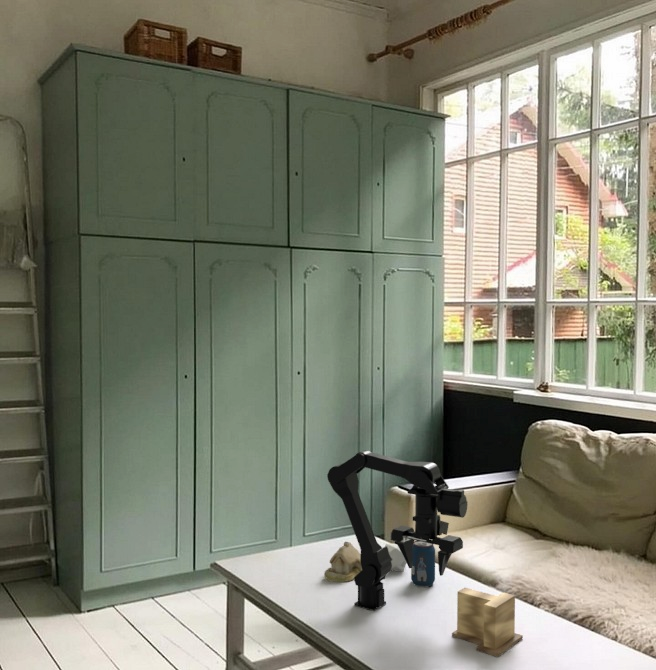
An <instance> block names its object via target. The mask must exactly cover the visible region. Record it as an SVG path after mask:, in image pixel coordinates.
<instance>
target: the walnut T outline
mask: <svg viewBox="0 0 656 670" xmlns="http://www.w3.org/2000/svg"><path fill="white" fill-rule="evenodd" d="M451 636H452V637H453V638H458V639H460V640H464V641H466V642H470V643H472V644H476V645H478V646H476V651H478V652H481V653H484V654H486V655H490V656H494V657H496V658H499V657H500V656H501V654H502V655H503V654H505V653H506V652H507V651H508V650H510V649H511V648H513V645H514V646H515V645H516V644H518V643H519V642H520V641H522V640H523V639H522V638H523V637H524V635H523V634H519V633H515V636H514V637H512V638H511V639H510V640H508V641H507V642H505V643H504V644H503V645H501V646H500V647H498V648H497V649H496V650H494V649H491V648H488V647H485V646H484V640H483V639H480V638H476V637H473V636H470V635H467V634H463V633H460V632H457V629H456V630H454V631H453V632H452V633H451ZM521 639H522V640H521ZM518 641H519V642H518ZM517 642H518V643H517ZM510 647H511V648H510ZM509 648H510V649H509ZM506 650H507V651H506ZM505 651H506V652H505Z"/></svg>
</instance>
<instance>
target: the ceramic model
mask: <svg viewBox="0 0 656 670" xmlns="http://www.w3.org/2000/svg"><path fill="white" fill-rule="evenodd" d="M360 555H361V552H360V551H359V550H358V549H357V548H356V547H355V546H354V545H353V544H352V543H351V542H350V541H344V542H343V545H342V546H340V547H339V549H338V550H337V551H336V552H335V553H334V554H333V555H332V556H331V558H330V559H329V563H330V566H331V567H328V568H327V569H326V570H325V571H324V577H325V580H328V581H330V582H343V583H344V582H350V581H354V577H355V576H356V575H357V574H358V573H360V572H361V571H362V567H361V563H360Z"/></svg>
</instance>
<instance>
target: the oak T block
mask: <svg viewBox="0 0 656 670" xmlns="http://www.w3.org/2000/svg"><path fill="white" fill-rule="evenodd" d="M456 595H457V598H456V599H457V600H456V601H457V603H456V604H457V609H456V610H457V612H456V614H457V615H456V616H457V617H456V620H457V621H456V622H457V623H456V625H457V627H456V630H457V632H460V633H463V634H467V635H470V636H473V637H476V638H480V639H483V640H484V646H485V647H488V648H491V649H494V650H496V649H497V648H498V647H500V646H501V645H503V644H504V643H505V642H507V641H508V640H510V639H511V638H512V637H514V636H515V632H516V631H515V629H516V627H515V626H516V625H515V624H516V623H515V622H516V621H515V619H516V595H515V594H511V593H507V592H502V593H500V594H499V595H495V594H490V593H488V592H487V593H486V592H483V591H479V590H476V589H472V588H468V587H463V588H461V589H459V590H457V594H456Z"/></svg>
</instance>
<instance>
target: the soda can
mask: <svg viewBox="0 0 656 670" xmlns="http://www.w3.org/2000/svg"><path fill="white" fill-rule="evenodd" d="M410 573H411V574H410V579H411V582H412V583H413V585H414V584H415V585H414V586H416V587H421V588H428V587H431V586H433V584H434V583H435V581H436V548H435V546H434V544H431V543H426V542H421V541H417V540H414V543H413V565H412V568H410Z"/></svg>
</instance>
